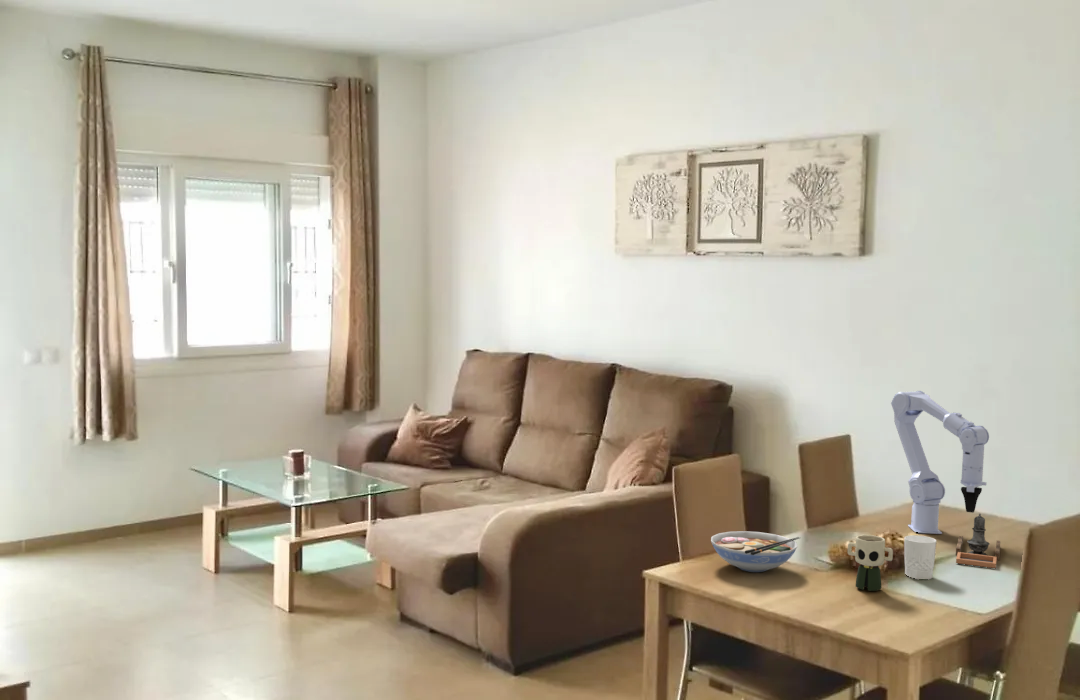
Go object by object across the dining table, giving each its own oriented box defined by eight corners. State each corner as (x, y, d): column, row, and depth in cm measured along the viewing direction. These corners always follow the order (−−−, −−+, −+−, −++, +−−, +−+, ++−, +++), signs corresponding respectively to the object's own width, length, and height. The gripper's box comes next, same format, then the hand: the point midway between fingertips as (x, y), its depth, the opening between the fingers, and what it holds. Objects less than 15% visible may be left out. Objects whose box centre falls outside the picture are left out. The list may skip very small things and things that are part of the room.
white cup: (897, 576, 268) (899, 538, 267) (910, 570, 274) (911, 533, 273) (927, 582, 262) (929, 544, 262) (939, 576, 268) (941, 539, 268)
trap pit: (957, 557, 288) (957, 551, 288) (996, 562, 284) (996, 556, 284) (955, 564, 281) (956, 558, 281) (995, 569, 276) (995, 563, 276)
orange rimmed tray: (959, 542, 304) (959, 536, 304) (1000, 547, 300) (1000, 540, 299) (955, 555, 290) (956, 548, 290) (998, 560, 285) (999, 553, 285)
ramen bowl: (743, 551, 289) (744, 523, 288) (815, 569, 273) (816, 539, 272) (689, 568, 271) (690, 537, 271) (763, 587, 255) (764, 555, 255)
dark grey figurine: (992, 557, 288) (994, 515, 287) (971, 557, 288) (973, 515, 287) (983, 552, 294) (985, 511, 293) (963, 551, 294) (965, 510, 293)
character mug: (842, 589, 255) (845, 538, 254) (849, 582, 261) (851, 532, 260) (888, 596, 250) (890, 544, 249) (893, 589, 256) (895, 538, 255)
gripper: (986, 472, 295) (983, 518, 296) (988, 464, 308) (985, 508, 309) (960, 469, 298) (957, 515, 299) (962, 462, 311) (960, 505, 312)
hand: (970, 511), depth 304 cm, fingers closed
